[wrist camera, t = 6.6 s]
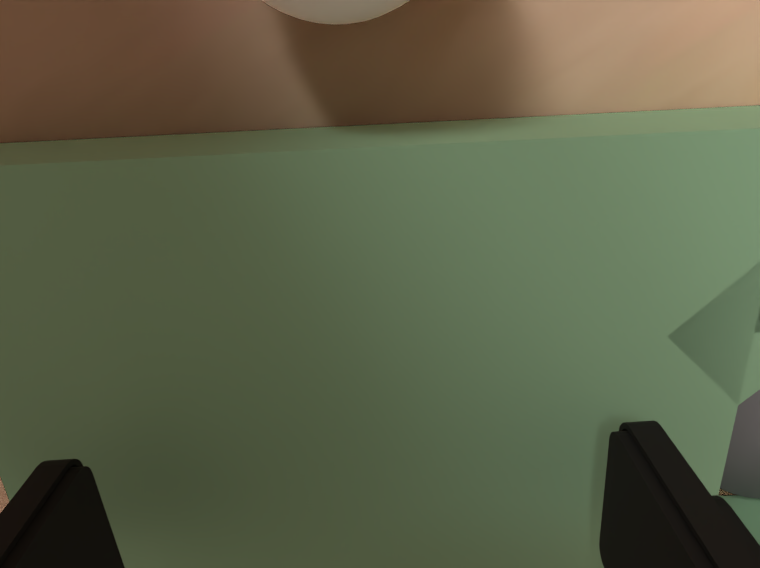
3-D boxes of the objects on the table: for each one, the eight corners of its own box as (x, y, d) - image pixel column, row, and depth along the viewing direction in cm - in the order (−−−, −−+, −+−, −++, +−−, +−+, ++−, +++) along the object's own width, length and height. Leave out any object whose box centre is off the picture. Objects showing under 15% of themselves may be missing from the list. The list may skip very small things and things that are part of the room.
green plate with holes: (-15, 143, 11) (-114, 171, 9) (1144, 86, 11) (1346, 99, 9) (128, 615, 16) (87, 709, 14) (928, 587, 16) (1020, 679, 14)
